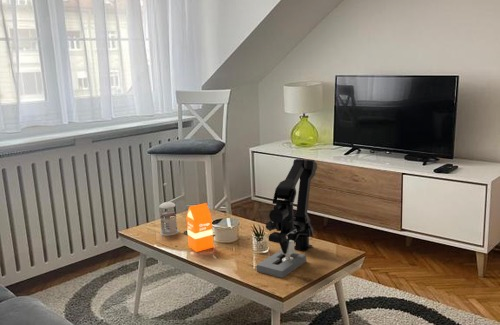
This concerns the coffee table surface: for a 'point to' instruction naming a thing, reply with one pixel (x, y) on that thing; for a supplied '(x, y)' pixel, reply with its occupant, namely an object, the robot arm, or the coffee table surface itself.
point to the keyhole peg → (288, 251)
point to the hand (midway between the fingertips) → (287, 251)
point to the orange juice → (199, 227)
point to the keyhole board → (284, 267)
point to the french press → (168, 219)
